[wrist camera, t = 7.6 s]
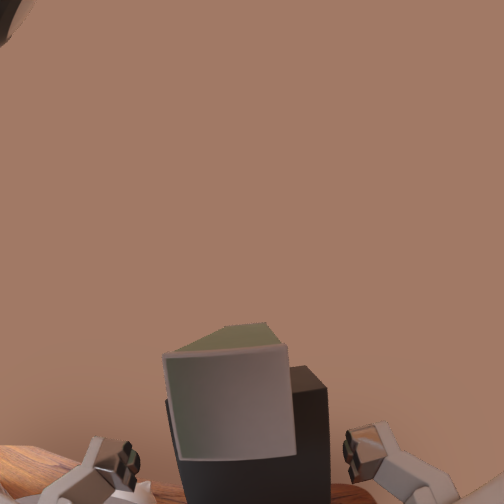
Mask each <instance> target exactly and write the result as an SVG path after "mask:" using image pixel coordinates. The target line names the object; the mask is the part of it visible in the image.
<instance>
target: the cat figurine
mask: <svg viewBox="0 0 504 504" xmlns="http://www.w3.org/2000/svg"><path fill="white" fill-rule="evenodd" d="M111 496H112V497H117V498H121V499H125V500H128V501H131V502H134V503H137V504H157V501H156V499H155V497H154V495H153V494H152V491H151V481H144V482H141V483H136V487H135V491H134V493H133V492H126V491H121V490H116V491H115V492H114V493H113V494H112V495H111Z"/></svg>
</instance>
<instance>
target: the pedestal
mask: <svg viewBox="0 0 504 504" xmlns="http://www.w3.org/2000/svg"><path fill="white" fill-rule="evenodd" d="M290 378H291V389H292V401H293V413H294V425H295V438H296V452H297V453H296V455H292V456H284V457H275V458H266V459H254V460H237V461H181V460H179V456H178V451H177V447H176V442H175V437H174V432H173V426H172V421H171V415H170V409H169V403H168V398H167V399H166V400H165V403H166V410H167V415H168V421H169V426H170V432H171V437H172V442H173V446H174V451H175V456H176V460H177V465H178V469H179V473H180V477H181V481H182V485H183V489H184V493H185V496H186V500H187V503H188V504H330V501H331V478H330V477H331V474H330V473H331V469H330V431H329V409H328V392H327V387H326V386H325V385H324V384H323V383H322V382H321V381H320V380H319V379H318V378H317V377H316V376H315V375H314V374H313V373H312V372H311V371H310V369H308V367H307V366H298V367H290Z"/></svg>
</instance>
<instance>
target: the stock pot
mask: <svg viewBox="0 0 504 504" xmlns="http://www.w3.org/2000/svg"><path fill="white" fill-rule="evenodd" d="M40 496H41V494H36V495H31V496H26V497H22V498H19V499H15V500H14V501H16V502H18V503H20V504H38V501H39V499H40ZM103 504H137V503H134V502H131V501H128V500H125V499H121V498H117V497H112V496H110V497H109V498H108V499H107V500H106V501H105V502H104V503H103Z"/></svg>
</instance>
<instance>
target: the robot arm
mask: <svg viewBox="0 0 504 504" xmlns="http://www.w3.org/2000/svg"><path fill="white" fill-rule="evenodd" d="M35 2H36V0H0V47H1V46H3V45H4V44H5V43H6V42H7V41H8V40H9V39H10V38H11V36H12V34H13V33H14V32H15V31H16V30H17V29H18V28H19V26H20V25H21V24H22V23H23V21H24V20H25V19H26V17H27V16H28V14H29V13H30V11H31V10H32V8H33V6H34V4H35ZM343 455H344V458H345V462H346V463H348V464H349V465H350V467H349V470H348V472H349V475H350V479H351V482H352V484H354V483H359V482H363V481H367V480H371V479H373V480H374V481H375V482H377V483H378V484H379V485H380V486H382V487H383V488H384V489H386V490H387V491H388V492H390V493H391V494H392V495H394V496H395V497H396V498H398V499H399V500H400V501H402V502H403V503H404V504H504V471H503V472H502V473H500V474H499V475H498V476H496V477H494V478H493V479H492V480H490V481H489V482H487V483H486V484H484V485H483V486H481V487H479V488H478V489H476V490H475V491H473V492H471V493H470V494H468V495H466V496H465V497H463V498H460V496H459V494H458V492H457V490H456V488H455V486H454V484H453V482H452V480H451V478H450V476H449V474H447V473H445V472H443V471H441V470H439V469H438V468H436V467H434V466H432V465H430V464H428V463H426V462H424V461H423V460H421V459H419V458H417V457H415V456H414V455H412V454H410V453H408V452H406V451H402V452H401V450H400V447H399V445H398V443H397V441H396V439H395V437H394V435H393V433H392V431H391V429H390V427H389V424H388V422H386V421H381V422H377V423H373V424H369V425H366V426H362V427H358V428H354V429H350V430H347V431H346V440H345V441H344V443H343ZM139 470H140V458H139V455H138V453H137V452H136V451H134V450H133V449H132V445H131V443H130V442H129V441H122V440H115V439H109V438H104V437H98V436H94V437H93V438H92V440H91V442H90V445H89V447H88V450H87V452H86V455H85V457H84V460H83V462H82V465H77V466H76V467H75V468H73V469H72V470H70V471H69V472H68V473H66V474H65V475H63V476H62V477H60V478H59V479H57V480H56V481H55V482H53V483H52V484H50V485H49V486H47V487H46V488H44V489H43V491H42V494H41V496H40V499H39V501H38V504H103V503H104V502H105V501H106V500H107V499H108V498H109V497H110V496H111V495H112V494H113V493H114V492H115V491H116V490H121V491H126V492H133V493H134V491H135V487H136V483H137V479H136V477H135V475H136V474H137V473H138V472H139ZM0 504H20V503H18V502H16V501H14V499H13V497H12V496H11V495H10V494H9V493H8V492H7V491H6V490H5V489H4V487H3V486H2V485H1V483H0Z"/></svg>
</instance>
